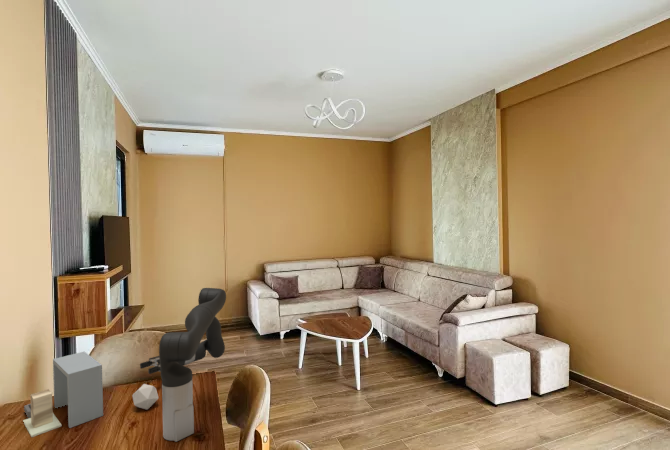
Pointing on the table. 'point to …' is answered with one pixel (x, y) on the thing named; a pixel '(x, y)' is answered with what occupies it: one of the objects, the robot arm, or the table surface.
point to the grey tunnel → (78, 387)
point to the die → (145, 396)
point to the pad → (42, 428)
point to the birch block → (41, 408)
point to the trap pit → (28, 410)
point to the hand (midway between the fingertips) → (144, 368)
